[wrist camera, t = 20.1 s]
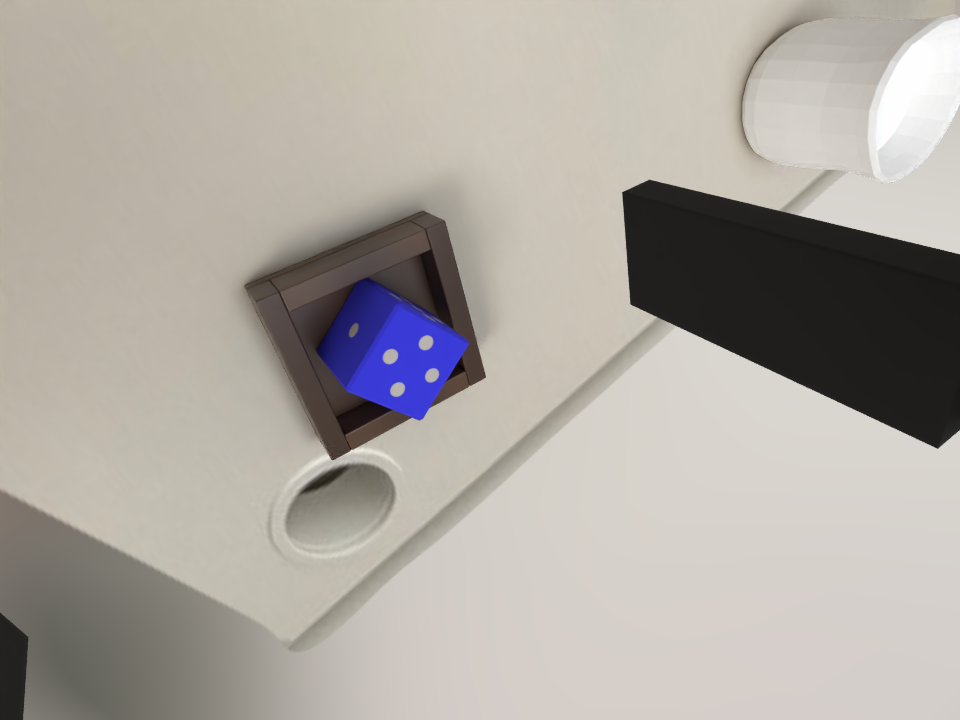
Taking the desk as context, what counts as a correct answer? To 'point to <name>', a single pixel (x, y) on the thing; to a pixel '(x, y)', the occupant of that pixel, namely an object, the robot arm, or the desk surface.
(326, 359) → the die
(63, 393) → the desk surface
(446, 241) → the wooden tray
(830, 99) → the cup
